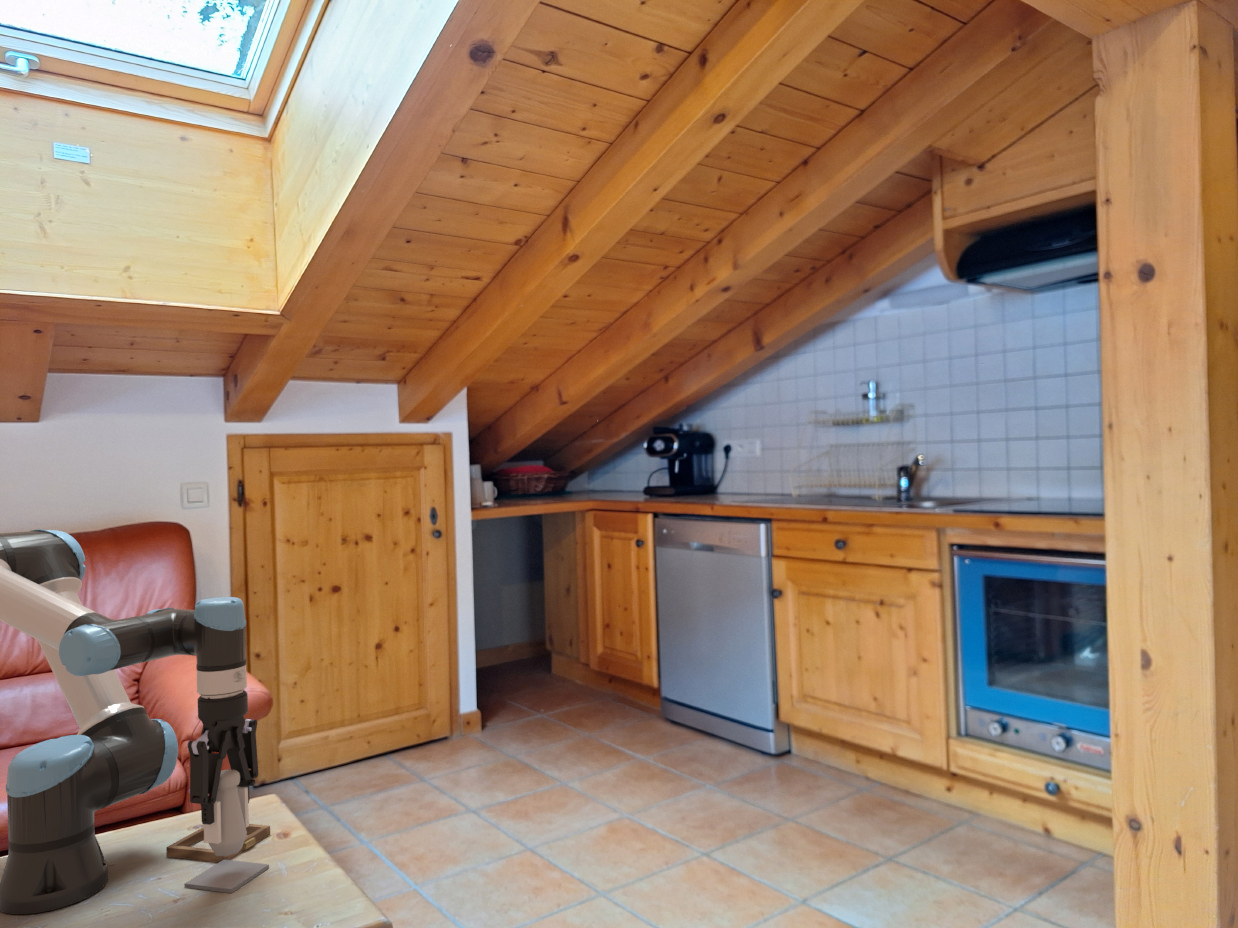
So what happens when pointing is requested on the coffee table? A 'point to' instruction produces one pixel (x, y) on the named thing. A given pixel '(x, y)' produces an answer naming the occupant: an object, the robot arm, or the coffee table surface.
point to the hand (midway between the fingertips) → (227, 833)
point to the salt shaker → (230, 815)
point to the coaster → (227, 876)
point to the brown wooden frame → (185, 851)
